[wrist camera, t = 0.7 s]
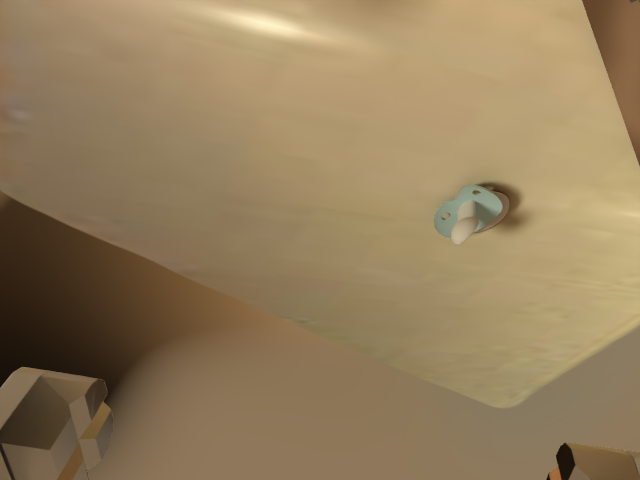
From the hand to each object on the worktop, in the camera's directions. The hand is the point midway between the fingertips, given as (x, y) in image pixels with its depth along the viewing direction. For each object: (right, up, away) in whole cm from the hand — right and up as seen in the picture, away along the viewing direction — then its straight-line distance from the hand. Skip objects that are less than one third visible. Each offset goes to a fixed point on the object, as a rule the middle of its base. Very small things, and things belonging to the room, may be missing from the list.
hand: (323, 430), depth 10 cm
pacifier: (+16, +7, +48) cm, 51 cm away
